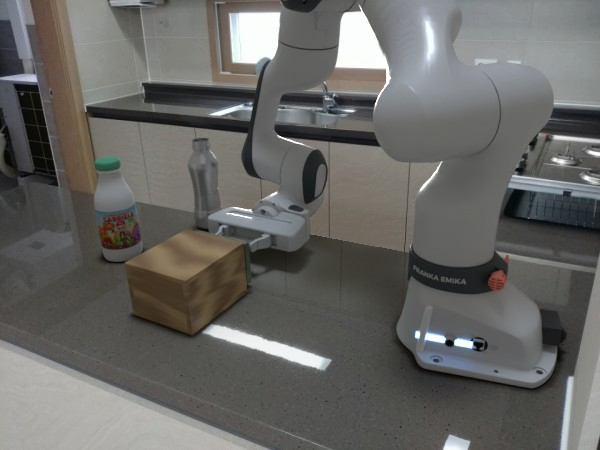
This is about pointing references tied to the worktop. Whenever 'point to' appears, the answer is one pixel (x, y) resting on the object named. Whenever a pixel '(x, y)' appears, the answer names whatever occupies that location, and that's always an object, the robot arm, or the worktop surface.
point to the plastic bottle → (204, 181)
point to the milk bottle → (116, 213)
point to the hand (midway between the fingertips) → (232, 244)
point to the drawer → (246, 253)
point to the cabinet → (187, 280)
